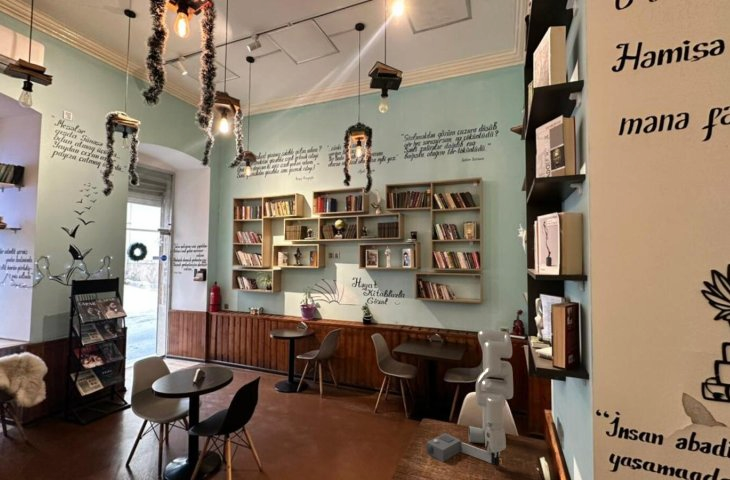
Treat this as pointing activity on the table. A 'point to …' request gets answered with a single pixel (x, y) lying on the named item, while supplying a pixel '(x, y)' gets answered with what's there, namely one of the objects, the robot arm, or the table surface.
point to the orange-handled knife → (477, 452)
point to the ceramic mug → (476, 435)
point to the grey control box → (443, 447)
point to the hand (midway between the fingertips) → (495, 464)
